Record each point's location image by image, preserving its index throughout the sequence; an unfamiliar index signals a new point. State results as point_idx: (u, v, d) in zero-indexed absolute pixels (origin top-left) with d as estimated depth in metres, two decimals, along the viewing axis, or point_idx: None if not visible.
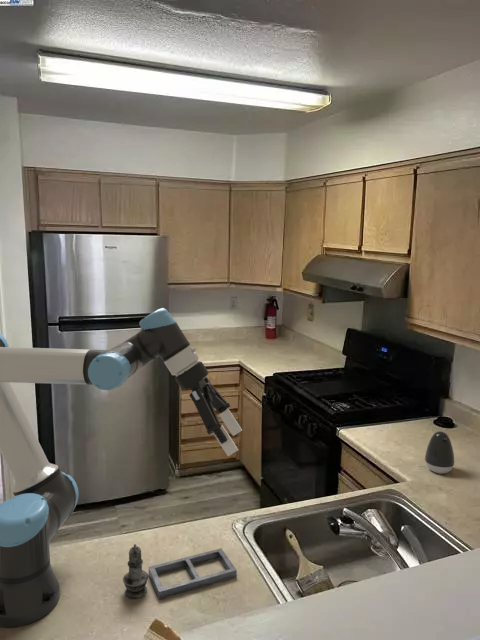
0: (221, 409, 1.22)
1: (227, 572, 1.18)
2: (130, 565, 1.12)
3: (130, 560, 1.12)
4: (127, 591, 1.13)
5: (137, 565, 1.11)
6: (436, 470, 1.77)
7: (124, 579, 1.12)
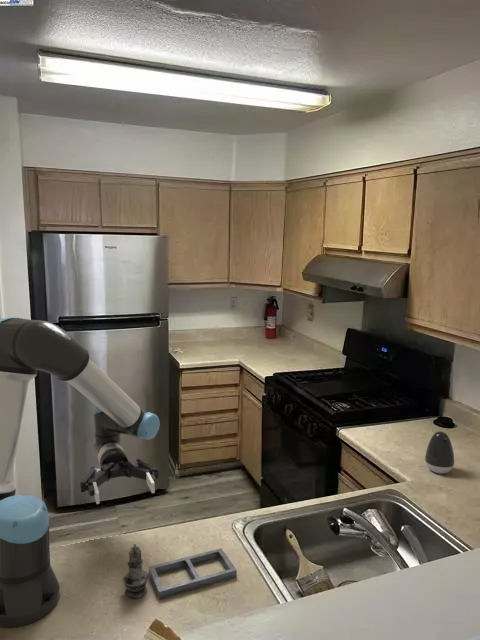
0: None
1: (227, 572, 1.18)
2: (130, 565, 1.12)
3: (130, 560, 1.12)
4: (127, 591, 1.13)
5: (137, 565, 1.11)
6: (436, 470, 1.77)
7: (124, 579, 1.12)
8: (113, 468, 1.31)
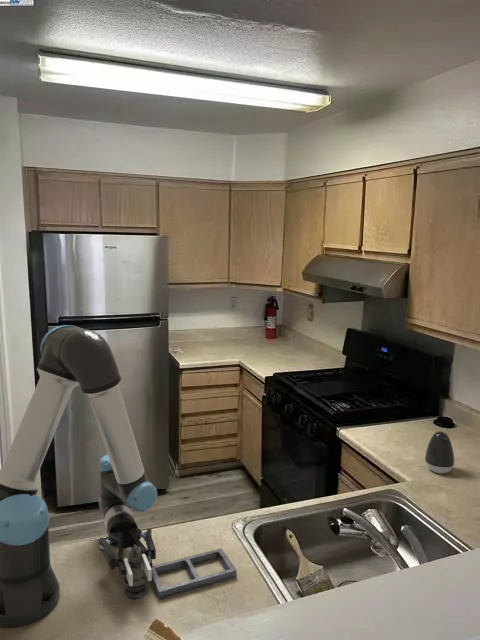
0: None
1: (227, 572, 1.18)
2: (130, 565, 1.12)
3: (130, 560, 1.12)
4: (127, 591, 1.13)
5: (137, 565, 1.11)
6: (436, 470, 1.77)
7: (124, 579, 1.12)
8: (122, 538, 1.21)
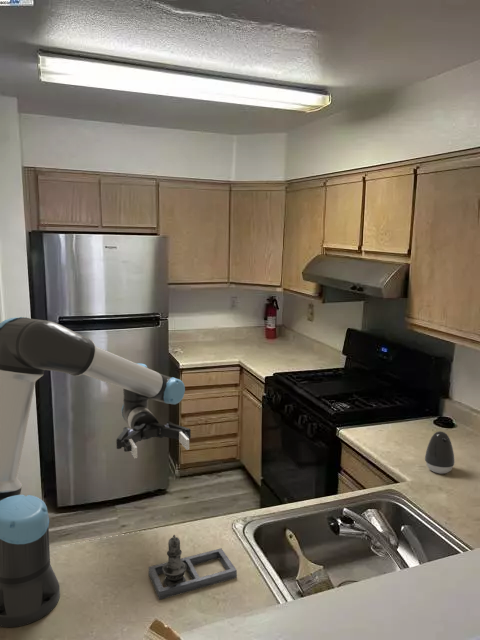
0: None
1: (227, 572, 1.18)
2: (170, 555, 1.15)
3: (170, 550, 1.16)
4: (166, 580, 1.17)
5: (177, 555, 1.15)
6: (436, 470, 1.77)
7: (164, 569, 1.16)
8: (146, 428, 1.34)
